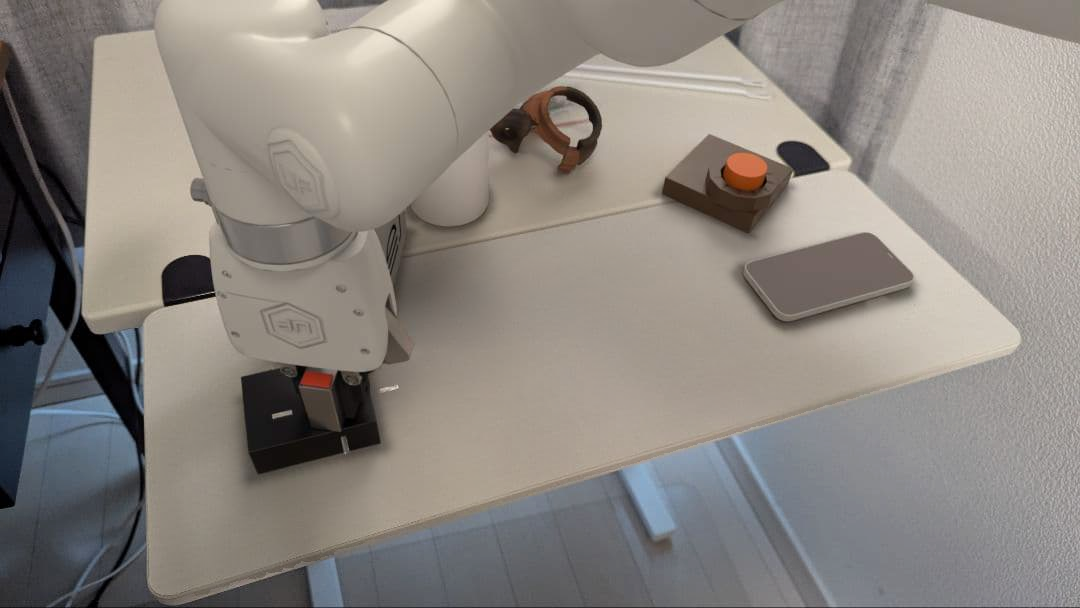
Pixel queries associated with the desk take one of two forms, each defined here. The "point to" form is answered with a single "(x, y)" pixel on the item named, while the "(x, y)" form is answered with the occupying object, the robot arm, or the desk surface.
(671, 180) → the control block
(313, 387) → the red-banded grey bar
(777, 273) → the smartphone
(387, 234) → the icon cube
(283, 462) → the switch panel
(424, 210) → the mug
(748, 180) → the power button
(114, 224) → the desk surface
